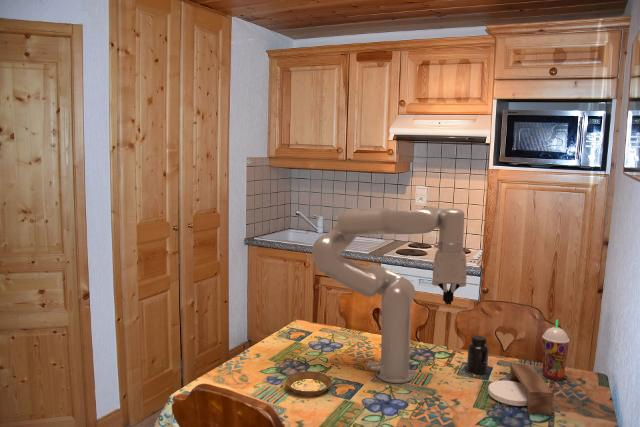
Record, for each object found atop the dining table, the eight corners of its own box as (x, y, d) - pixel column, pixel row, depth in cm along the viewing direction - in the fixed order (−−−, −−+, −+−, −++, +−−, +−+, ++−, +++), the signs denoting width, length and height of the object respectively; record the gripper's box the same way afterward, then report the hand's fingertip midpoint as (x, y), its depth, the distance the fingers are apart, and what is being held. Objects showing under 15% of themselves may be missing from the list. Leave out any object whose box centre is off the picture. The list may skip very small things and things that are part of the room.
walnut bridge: (528, 413, 153) (530, 391, 152) (509, 383, 173) (510, 363, 172) (551, 414, 153) (553, 392, 152) (529, 384, 172) (530, 364, 172)
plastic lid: (485, 386, 172) (485, 378, 171) (530, 390, 169) (531, 382, 169) (491, 406, 158) (491, 398, 158) (540, 411, 155) (540, 403, 155)
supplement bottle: (488, 376, 178) (490, 342, 177) (467, 374, 180) (469, 340, 178) (486, 367, 185) (488, 335, 184) (466, 366, 186) (467, 333, 185)
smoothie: (555, 383, 173) (559, 325, 171) (534, 374, 180) (538, 317, 178) (571, 379, 177) (576, 321, 174) (551, 369, 184) (554, 314, 182)
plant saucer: (309, 374, 178) (309, 367, 178) (341, 389, 168) (341, 381, 167) (276, 388, 168) (276, 380, 168) (307, 404, 157) (307, 396, 157)
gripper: (428, 249, 164) (425, 306, 166) (477, 250, 163) (473, 307, 165) (425, 244, 171) (423, 299, 173) (472, 246, 170) (469, 301, 172)
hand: (447, 303), depth 169 cm, fingers closed
